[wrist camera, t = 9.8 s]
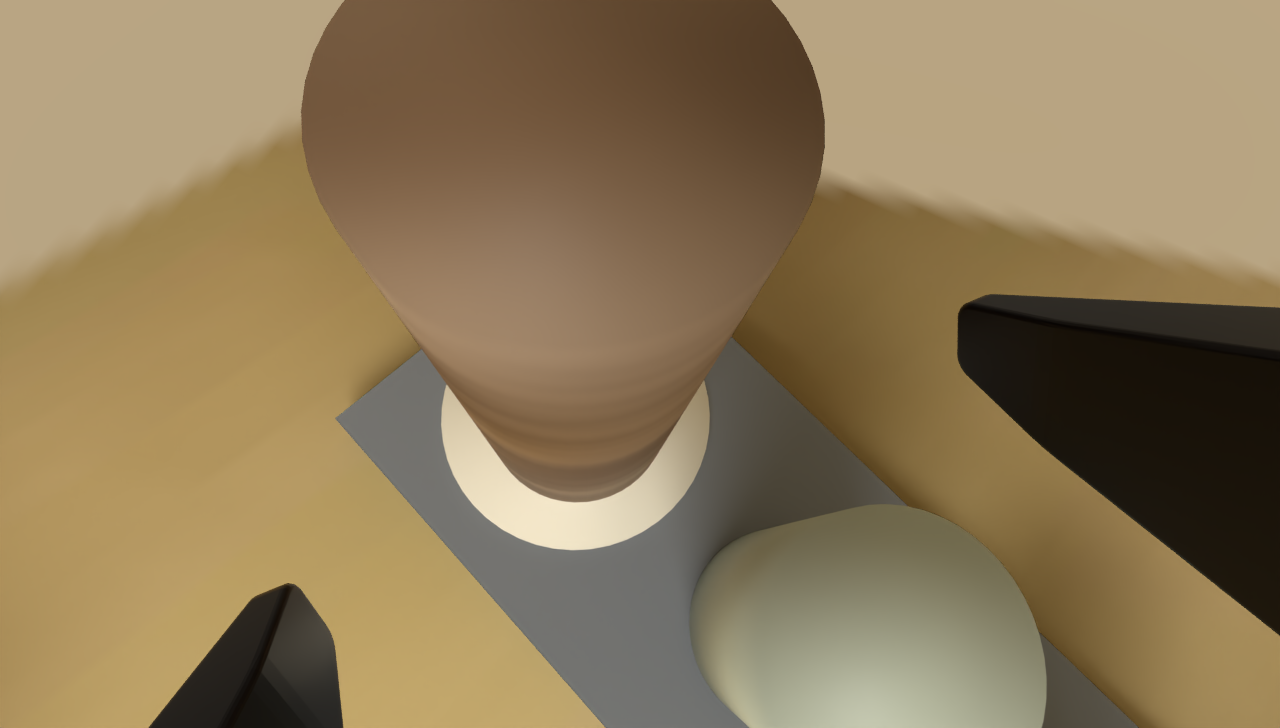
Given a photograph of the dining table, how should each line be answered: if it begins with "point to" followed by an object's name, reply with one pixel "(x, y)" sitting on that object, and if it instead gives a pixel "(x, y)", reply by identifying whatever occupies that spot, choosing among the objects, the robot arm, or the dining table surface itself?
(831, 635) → the sage posts
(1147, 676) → the dining table surface
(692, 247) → the walnut post
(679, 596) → the slate board
